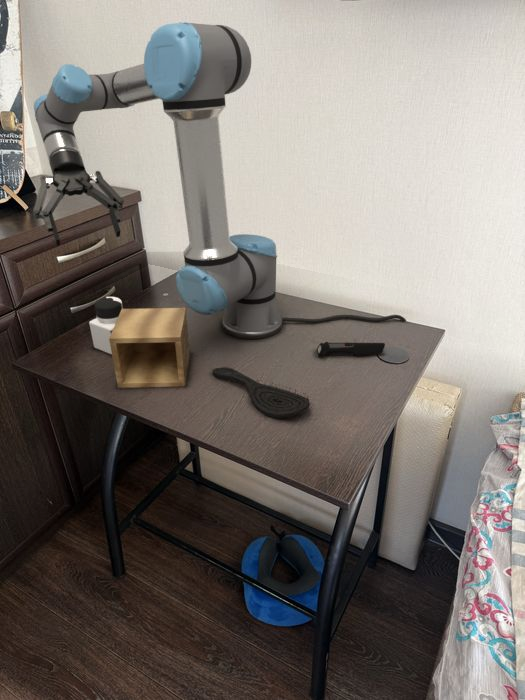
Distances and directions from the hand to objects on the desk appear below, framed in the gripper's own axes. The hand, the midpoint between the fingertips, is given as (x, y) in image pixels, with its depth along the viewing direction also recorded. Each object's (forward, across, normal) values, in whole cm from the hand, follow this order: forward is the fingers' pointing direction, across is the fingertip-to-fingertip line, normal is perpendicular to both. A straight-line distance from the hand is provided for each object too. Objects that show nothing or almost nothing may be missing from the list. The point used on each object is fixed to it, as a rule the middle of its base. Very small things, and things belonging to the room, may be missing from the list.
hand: (89, 238), depth 115 cm
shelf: (+34, -5, +2) cm, 35 cm away
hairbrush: (+47, -21, +15) cm, 54 cm away
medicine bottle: (+24, 0, -9) cm, 26 cm away
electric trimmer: (+44, -47, +12) cm, 66 cm away
